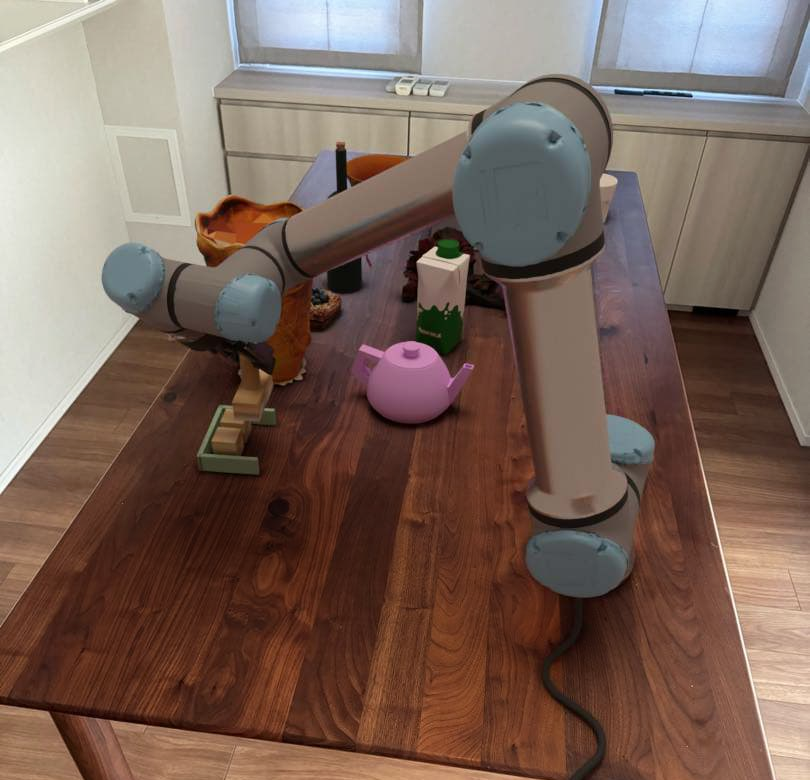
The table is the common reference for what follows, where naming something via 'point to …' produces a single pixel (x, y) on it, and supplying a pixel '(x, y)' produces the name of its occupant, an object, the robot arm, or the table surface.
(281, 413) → the table surface
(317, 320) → the pastry
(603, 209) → the cup
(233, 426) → the cube
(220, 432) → the cube
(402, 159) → the bowl
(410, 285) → the flower arrangement
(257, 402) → the peg on base
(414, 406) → the teapot
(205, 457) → the frame
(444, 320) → the soya milk
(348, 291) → the wine bottle
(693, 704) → the table surface
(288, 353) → the vase
